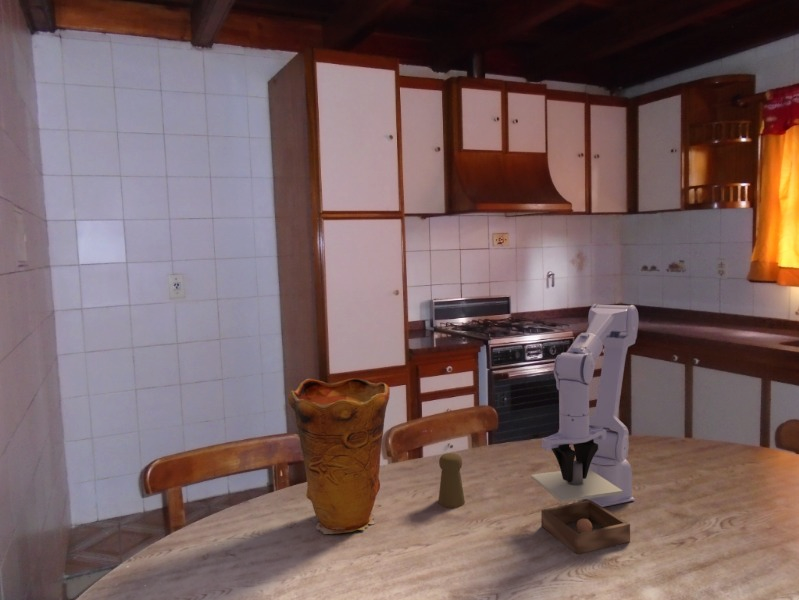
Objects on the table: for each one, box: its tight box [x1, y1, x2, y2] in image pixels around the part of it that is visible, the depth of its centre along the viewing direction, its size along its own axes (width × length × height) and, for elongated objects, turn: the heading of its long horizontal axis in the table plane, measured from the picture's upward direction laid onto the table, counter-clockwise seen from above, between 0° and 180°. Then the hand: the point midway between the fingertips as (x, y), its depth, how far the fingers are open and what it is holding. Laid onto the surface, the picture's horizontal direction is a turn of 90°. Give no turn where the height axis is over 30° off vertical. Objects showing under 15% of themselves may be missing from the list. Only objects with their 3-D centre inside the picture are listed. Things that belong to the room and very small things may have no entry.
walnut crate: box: [540, 499, 631, 555], centre depth 118 cm, size 12×12×4 cm
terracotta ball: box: [576, 518, 593, 533], centre depth 118 cm, size 3×3×3 cm
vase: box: [288, 377, 391, 535], centre depth 124 cm, size 21×20×30 cm
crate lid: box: [530, 460, 623, 503], centre depth 119 cm, size 13×13×5 cm
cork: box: [438, 452, 466, 509], centre depth 134 cm, size 6×6×11 cm
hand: (574, 478), depth 120 cm, fingers closed on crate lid, 3 cm apart
